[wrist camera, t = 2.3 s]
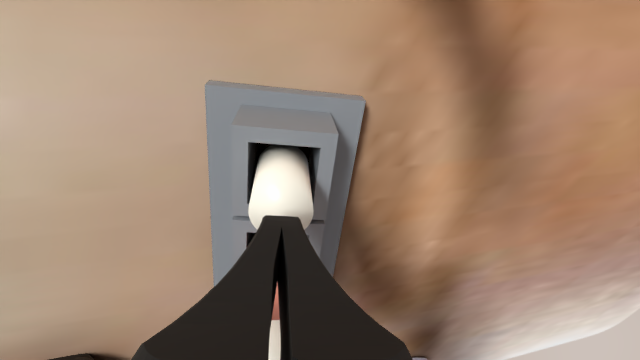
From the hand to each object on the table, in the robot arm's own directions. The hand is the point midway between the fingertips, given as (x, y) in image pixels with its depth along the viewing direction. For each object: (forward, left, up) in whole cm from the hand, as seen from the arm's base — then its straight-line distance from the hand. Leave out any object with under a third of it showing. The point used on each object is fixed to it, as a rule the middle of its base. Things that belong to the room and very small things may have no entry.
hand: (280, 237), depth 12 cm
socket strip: (0, +6, -10) cm, 11 cm away
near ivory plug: (0, 0, -6) cm, 6 cm away
